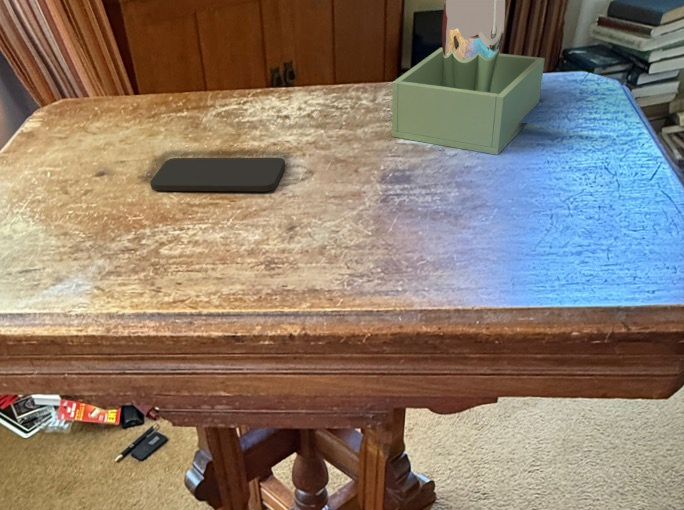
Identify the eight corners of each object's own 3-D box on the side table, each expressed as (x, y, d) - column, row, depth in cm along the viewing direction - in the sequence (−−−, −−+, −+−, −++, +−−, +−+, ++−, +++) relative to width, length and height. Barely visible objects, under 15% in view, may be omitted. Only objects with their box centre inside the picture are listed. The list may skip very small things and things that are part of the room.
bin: (537, 112, 91) (544, 58, 87) (497, 155, 83) (503, 97, 78) (438, 98, 98) (440, 47, 93) (391, 136, 89) (391, 82, 85)
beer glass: (434, 128, 88) (439, -3, 79) (442, 107, 93) (448, -19, 84) (493, 130, 86) (505, -4, 77) (497, 108, 91) (509, -20, 82)
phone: (167, 157, 88) (286, 157, 85) (169, 163, 89) (287, 163, 85) (146, 185, 83) (273, 186, 79) (148, 192, 83) (274, 193, 80)
